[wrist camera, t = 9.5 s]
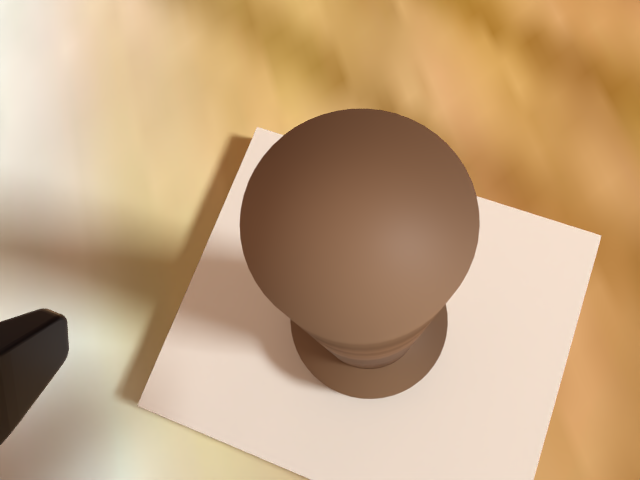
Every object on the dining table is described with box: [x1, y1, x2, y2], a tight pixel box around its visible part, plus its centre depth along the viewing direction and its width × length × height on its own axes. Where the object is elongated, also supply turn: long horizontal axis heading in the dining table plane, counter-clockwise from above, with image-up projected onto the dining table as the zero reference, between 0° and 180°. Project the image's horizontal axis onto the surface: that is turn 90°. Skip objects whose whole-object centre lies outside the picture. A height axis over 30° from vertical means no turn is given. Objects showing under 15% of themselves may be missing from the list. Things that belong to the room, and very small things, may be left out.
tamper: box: [240, 109, 480, 399], centre depth 14 cm, size 5×5×12 cm
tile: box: [137, 127, 601, 480], centre depth 20 cm, size 11×13×1 cm
